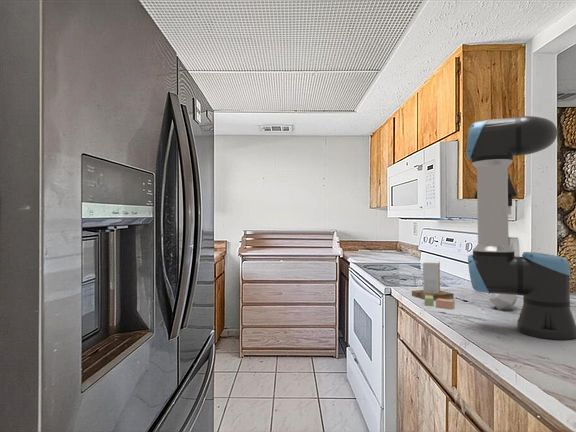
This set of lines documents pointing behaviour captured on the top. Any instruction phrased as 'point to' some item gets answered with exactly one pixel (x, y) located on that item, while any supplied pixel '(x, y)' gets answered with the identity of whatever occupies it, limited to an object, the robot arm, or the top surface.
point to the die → (503, 301)
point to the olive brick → (429, 300)
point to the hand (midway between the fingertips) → (494, 214)
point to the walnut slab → (436, 296)
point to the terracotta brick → (445, 303)
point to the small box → (431, 277)
